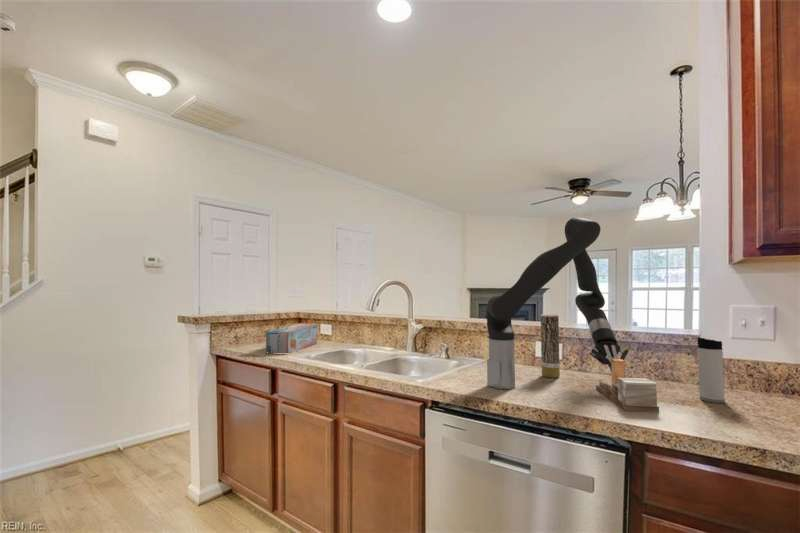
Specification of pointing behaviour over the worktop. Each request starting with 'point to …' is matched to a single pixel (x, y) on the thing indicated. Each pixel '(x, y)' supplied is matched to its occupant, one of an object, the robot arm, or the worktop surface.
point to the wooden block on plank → (632, 394)
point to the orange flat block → (617, 371)
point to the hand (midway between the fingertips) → (617, 374)
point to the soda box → (291, 338)
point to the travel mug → (711, 370)
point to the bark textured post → (550, 345)
